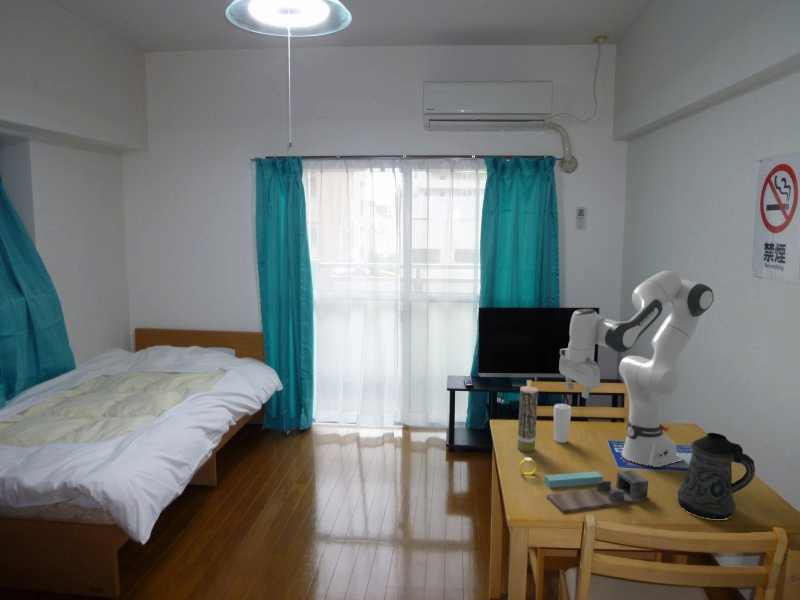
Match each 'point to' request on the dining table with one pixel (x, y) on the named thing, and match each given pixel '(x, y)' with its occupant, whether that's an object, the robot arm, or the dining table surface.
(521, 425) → the brown bark cylinder
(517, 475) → the dining table surface
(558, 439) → the drinking glass
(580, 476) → the slat
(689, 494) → the beer stein
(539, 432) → the dining table surface
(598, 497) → the end-cap base
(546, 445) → the dining table surface
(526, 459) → the watch
